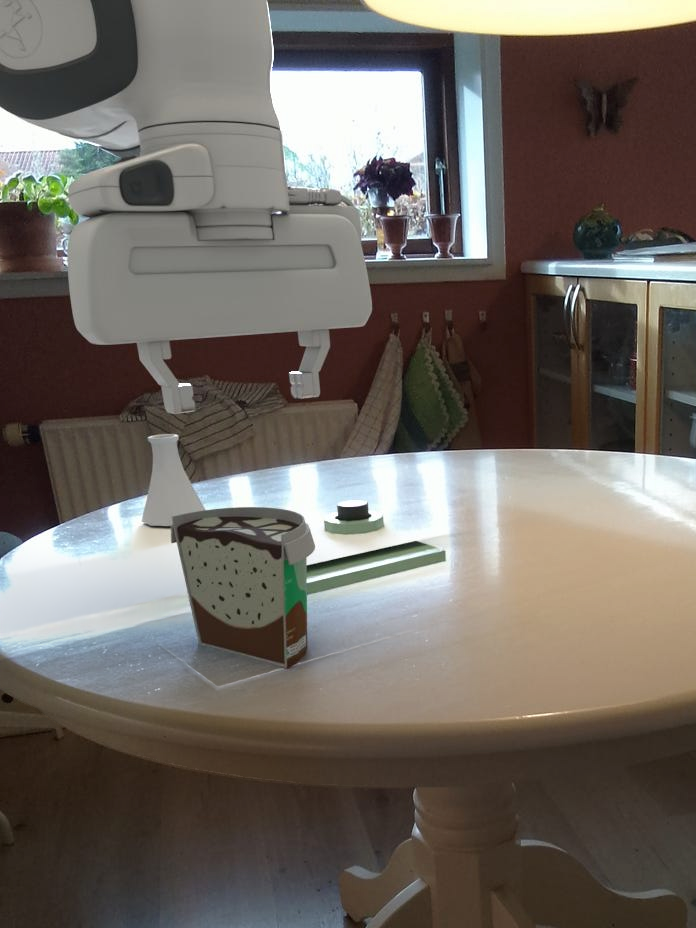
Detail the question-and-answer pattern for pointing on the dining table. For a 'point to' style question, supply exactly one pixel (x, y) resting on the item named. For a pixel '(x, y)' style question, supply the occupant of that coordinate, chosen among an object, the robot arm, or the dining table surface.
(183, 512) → the flask
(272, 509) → the food container
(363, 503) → the tare button
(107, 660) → the dining table surface
